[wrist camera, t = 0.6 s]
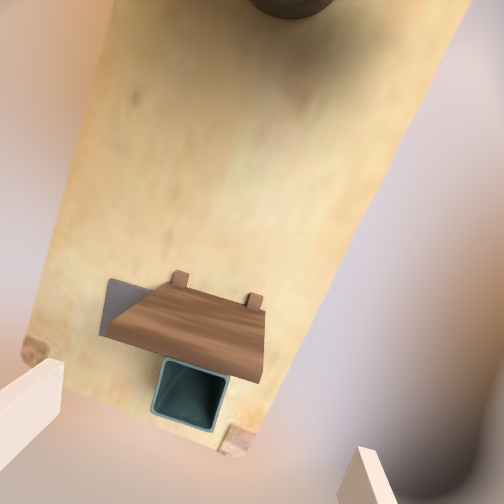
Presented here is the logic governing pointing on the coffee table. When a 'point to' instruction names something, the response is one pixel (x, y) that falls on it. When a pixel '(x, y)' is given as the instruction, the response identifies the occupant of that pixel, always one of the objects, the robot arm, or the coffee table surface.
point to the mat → (120, 302)
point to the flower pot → (189, 394)
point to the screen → (197, 328)
